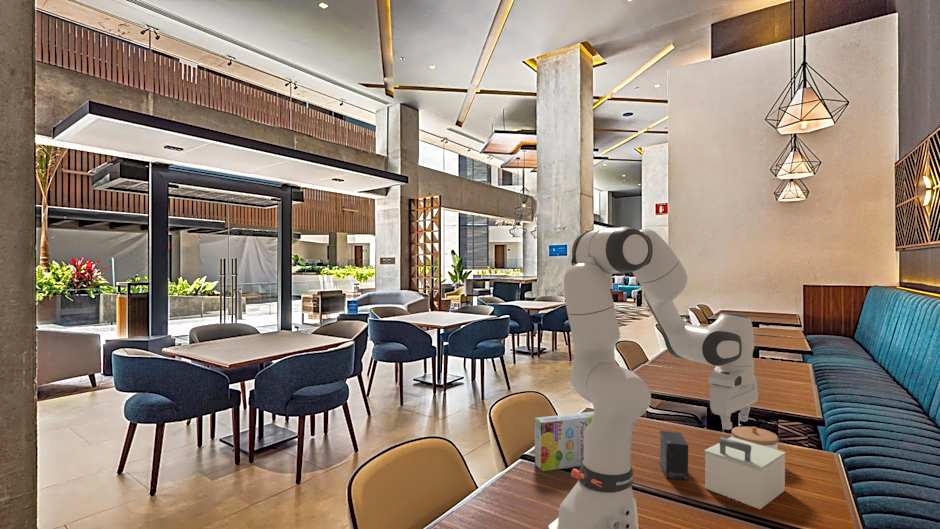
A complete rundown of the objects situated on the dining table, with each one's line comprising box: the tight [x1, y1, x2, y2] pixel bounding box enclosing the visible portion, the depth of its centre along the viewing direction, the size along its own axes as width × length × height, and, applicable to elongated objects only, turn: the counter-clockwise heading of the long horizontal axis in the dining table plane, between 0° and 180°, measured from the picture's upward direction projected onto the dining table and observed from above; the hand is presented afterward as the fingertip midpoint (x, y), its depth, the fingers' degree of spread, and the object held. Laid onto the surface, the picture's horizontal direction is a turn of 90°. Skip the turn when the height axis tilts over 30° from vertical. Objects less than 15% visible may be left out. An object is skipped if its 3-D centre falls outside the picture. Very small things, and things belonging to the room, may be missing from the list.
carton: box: [704, 452, 786, 510], centre depth 132 cm, size 16×14×10 cm
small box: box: [659, 430, 689, 481], centre depth 143 cm, size 11×6×10 cm, turn 168°
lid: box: [703, 436, 787, 471], centre depth 132 cm, size 16×14×5 cm
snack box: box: [533, 411, 594, 472], centre depth 149 cm, size 21×6×15 cm, turn 105°
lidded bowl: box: [731, 426, 779, 450], centre depth 150 cm, size 13×13×11 cm
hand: (735, 424), depth 128 cm, fingers open, 8 cm apart
